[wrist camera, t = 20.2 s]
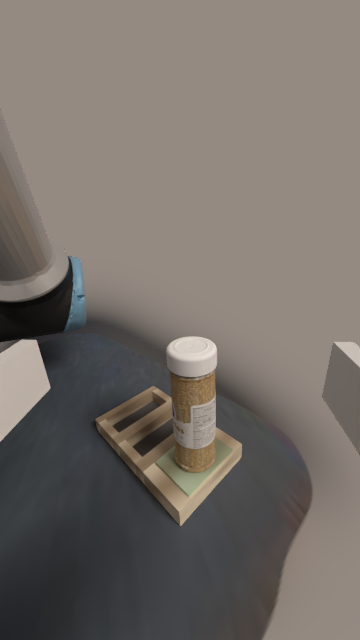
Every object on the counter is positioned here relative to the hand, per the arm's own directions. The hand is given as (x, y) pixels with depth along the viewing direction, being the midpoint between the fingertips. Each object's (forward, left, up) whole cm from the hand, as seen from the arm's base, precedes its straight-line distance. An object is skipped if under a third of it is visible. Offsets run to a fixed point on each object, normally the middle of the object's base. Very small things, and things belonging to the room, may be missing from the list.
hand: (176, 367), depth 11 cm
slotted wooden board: (-12, +8, -20) cm, 24 cm away
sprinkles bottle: (-7, +8, -18) cm, 20 cm away
